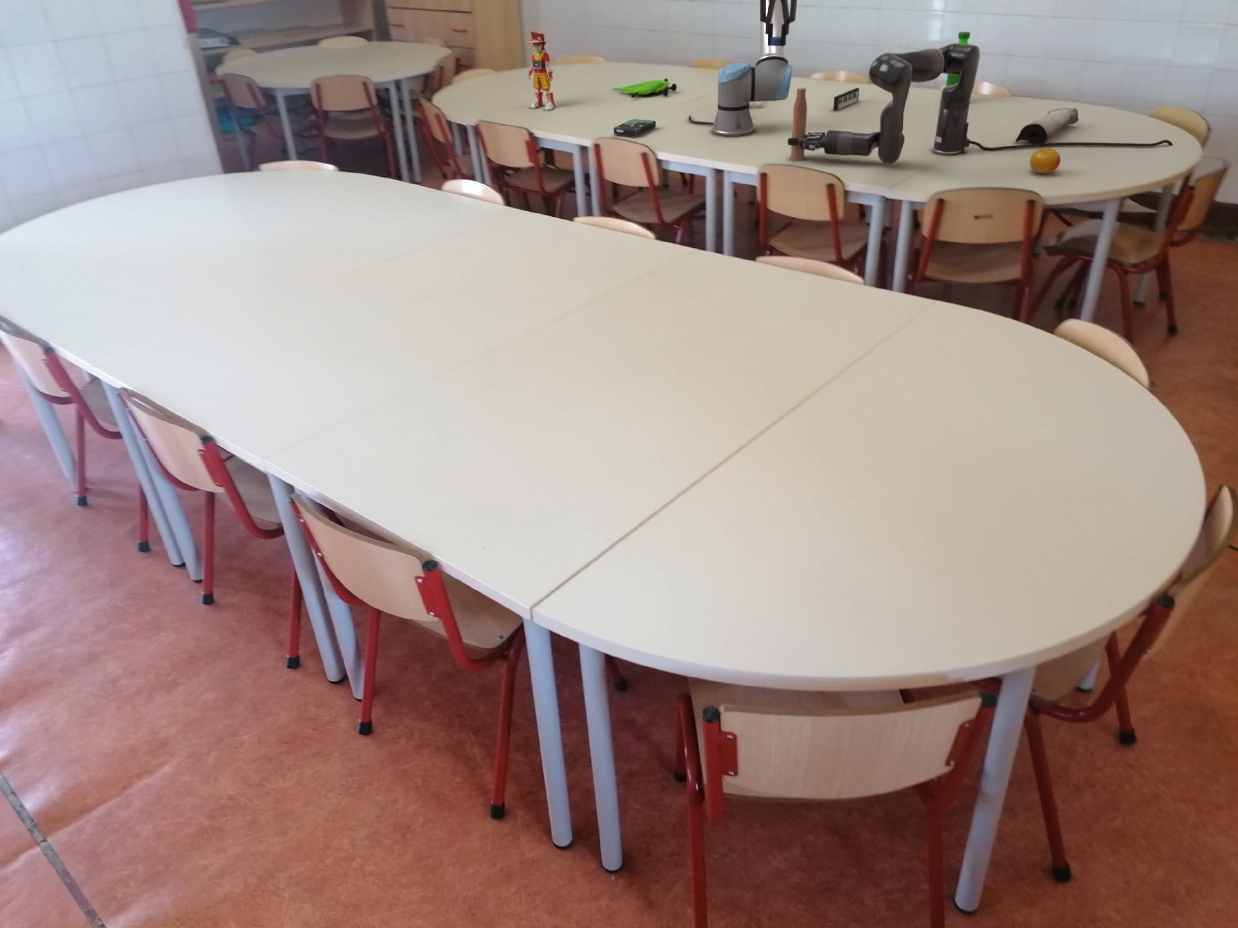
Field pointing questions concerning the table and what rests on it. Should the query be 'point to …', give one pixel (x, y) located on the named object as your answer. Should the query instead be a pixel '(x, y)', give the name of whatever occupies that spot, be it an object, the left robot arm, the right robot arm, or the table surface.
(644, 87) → the toy
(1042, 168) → the fruit
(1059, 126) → the rolled mat
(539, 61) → the toy
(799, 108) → the bottle
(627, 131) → the disk drive
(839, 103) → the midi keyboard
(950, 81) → the plastic bottle
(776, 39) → the cap
